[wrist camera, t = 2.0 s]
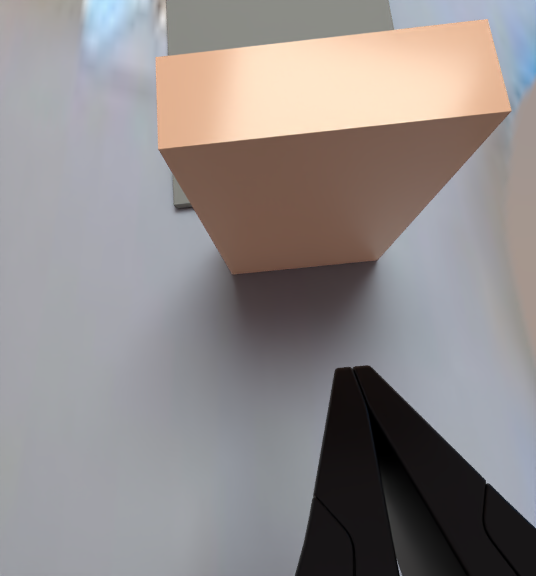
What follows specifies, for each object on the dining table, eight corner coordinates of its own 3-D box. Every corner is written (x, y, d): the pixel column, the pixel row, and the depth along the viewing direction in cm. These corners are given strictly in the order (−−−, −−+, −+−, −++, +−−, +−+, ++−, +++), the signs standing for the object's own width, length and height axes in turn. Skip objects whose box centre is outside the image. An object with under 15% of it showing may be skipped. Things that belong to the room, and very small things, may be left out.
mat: (419, 183, 21) (423, 178, 20) (176, 208, 21) (174, 204, 20) (377, -39, 24) (379, -47, 23) (167, -14, 24) (165, -21, 24)
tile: (377, 260, 20) (511, 111, 8) (232, 274, 20) (158, 148, 8) (370, 215, 20) (486, 14, 9) (229, 229, 21) (155, 52, 9)
